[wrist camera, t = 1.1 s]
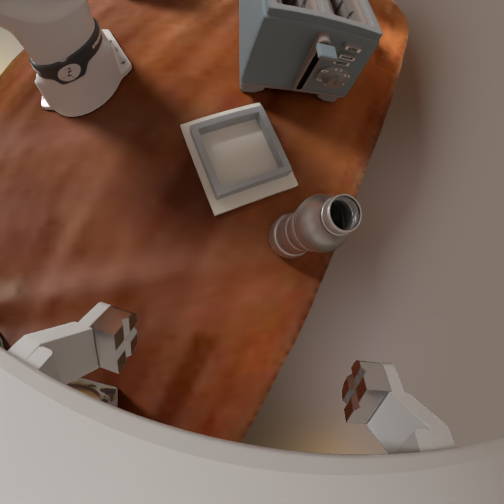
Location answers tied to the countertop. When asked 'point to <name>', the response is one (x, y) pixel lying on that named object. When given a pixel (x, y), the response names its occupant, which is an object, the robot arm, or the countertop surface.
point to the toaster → (305, 45)
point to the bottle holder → (238, 157)
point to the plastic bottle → (315, 225)
